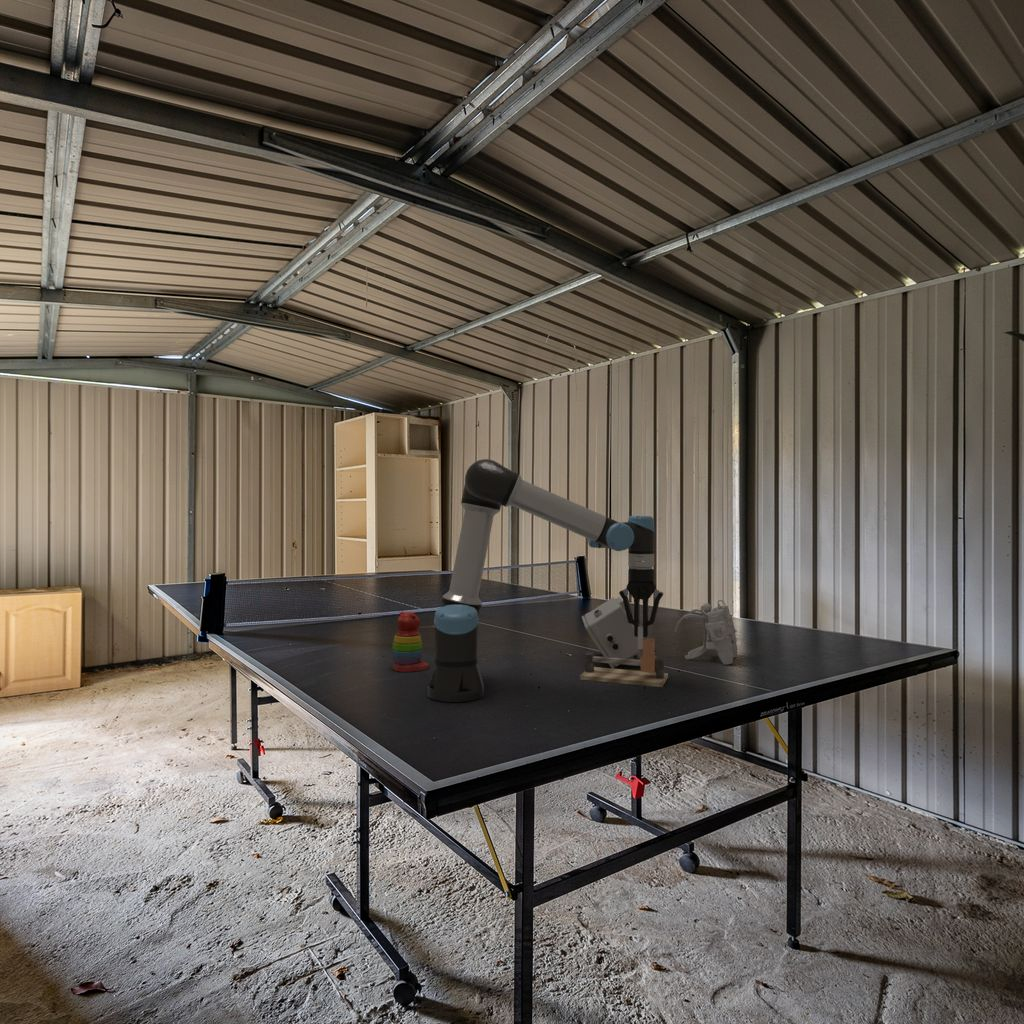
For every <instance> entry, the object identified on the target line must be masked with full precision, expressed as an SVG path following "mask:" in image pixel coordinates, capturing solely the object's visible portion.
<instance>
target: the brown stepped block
mask: <svg viewBox="0 0 1024 1024" xmlns="http://www.w3.org/2000/svg"><path fill="white" fill-rule="evenodd" d="M655 640H656V639H655V638H648V637H644V639H643V649H642V656H641V666H640V671H641V672H649V673H655V672H656V667H655V661H656V659H657V658H658V657H657V655H655V651H656V650H655V648H656V647H655V642H656V641H655Z"/></svg>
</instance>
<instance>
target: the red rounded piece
mask: <svg viewBox="0 0 1024 1024" xmlns="http://www.w3.org/2000/svg"><path fill="white" fill-rule="evenodd" d="M420 624H421V620H420V618H419V616H418V615H417V614H415V613H414V612H411V611H410V612H409V611H407V612H405V611H401V612H399V616H398V617H397V626H398V630H397V631H396V632H395V635H394V636H393V642H392V647H391V649H392V656H393V662H394V663H393V666H392V669H393V670H394V671H396V672H401V673H402V672H404V673H409V672H411V673H412V672H419V671H425V670H428V669H429V667H430V665H429V663H427V662H425V661H422V660H421V658H422V654H423V647H424V646H423V642H422V636H421V634H420V633H421V632H419V630H417V629H418V628H419V627H420Z"/></svg>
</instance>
